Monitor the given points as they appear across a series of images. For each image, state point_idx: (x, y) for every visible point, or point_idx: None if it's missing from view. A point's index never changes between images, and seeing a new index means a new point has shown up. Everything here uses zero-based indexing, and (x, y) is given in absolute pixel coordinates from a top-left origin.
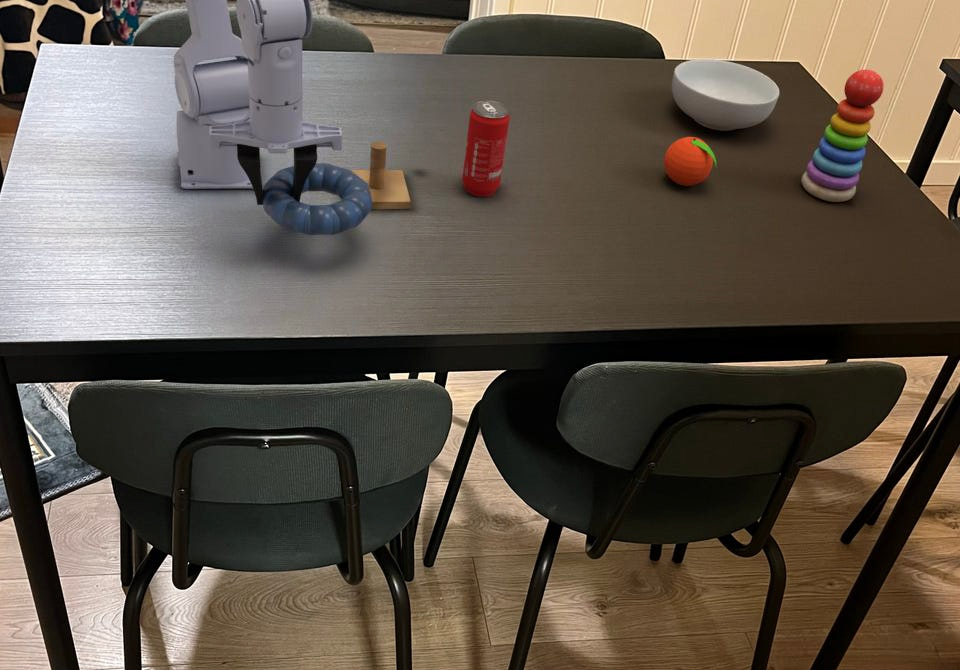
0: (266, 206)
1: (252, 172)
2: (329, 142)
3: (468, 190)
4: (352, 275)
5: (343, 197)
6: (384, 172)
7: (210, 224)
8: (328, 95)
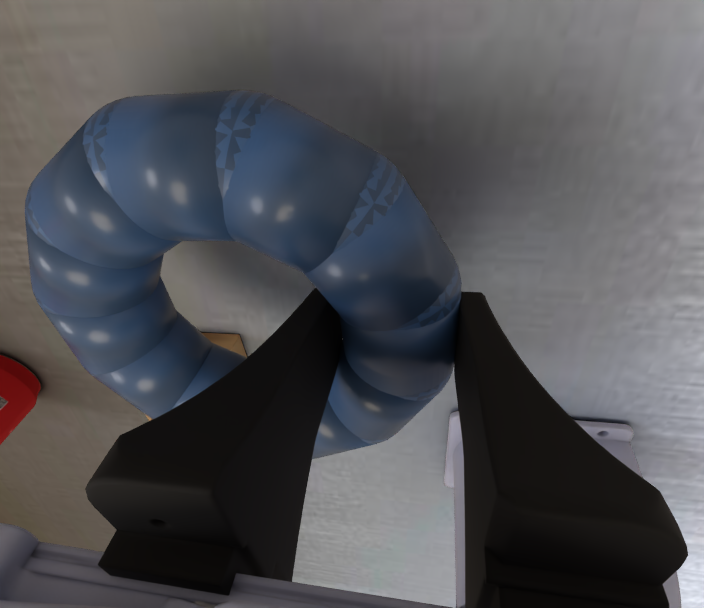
0: (448, 264)
1: (538, 426)
2: (35, 578)
3: (17, 368)
4: (157, 25)
5: (151, 309)
6: (151, 418)
7: (598, 302)
8: (320, 563)
